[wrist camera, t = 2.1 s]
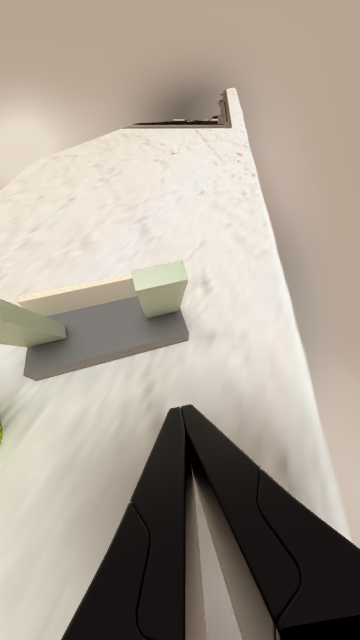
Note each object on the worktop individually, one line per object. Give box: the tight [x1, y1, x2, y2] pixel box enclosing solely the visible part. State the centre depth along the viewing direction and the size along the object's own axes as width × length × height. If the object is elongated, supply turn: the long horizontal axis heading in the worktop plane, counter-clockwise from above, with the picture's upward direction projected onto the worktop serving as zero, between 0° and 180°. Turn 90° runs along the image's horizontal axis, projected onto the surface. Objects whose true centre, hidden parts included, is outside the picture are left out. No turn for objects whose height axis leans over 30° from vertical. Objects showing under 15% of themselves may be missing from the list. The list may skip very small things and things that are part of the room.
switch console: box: [17, 274, 189, 381], centre depth 22 cm, size 8×18×5 cm, turn 106°
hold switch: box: [0, 299, 67, 347], centre depth 17 cm, size 2×4×9 cm, turn 106°
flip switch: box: [131, 261, 188, 319], centre depth 19 cm, size 2×4×9 cm, turn 106°
